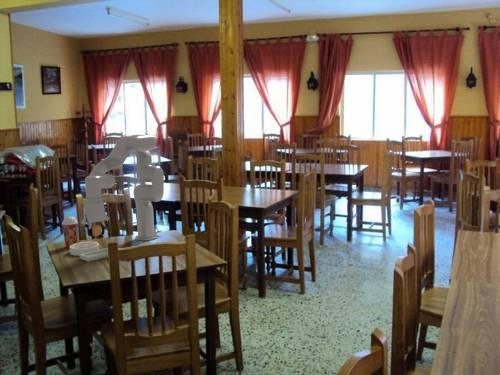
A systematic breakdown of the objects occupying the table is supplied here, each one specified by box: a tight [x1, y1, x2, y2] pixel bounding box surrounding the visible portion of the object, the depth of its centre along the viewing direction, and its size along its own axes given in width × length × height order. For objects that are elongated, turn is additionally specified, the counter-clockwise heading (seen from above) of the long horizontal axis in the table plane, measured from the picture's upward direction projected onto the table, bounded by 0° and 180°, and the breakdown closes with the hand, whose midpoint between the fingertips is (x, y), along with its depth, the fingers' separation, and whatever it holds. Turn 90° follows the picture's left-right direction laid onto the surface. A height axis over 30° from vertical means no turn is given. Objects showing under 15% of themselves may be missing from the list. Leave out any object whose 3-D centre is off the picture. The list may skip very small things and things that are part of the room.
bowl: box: [69, 241, 100, 257], centre depth 281 cm, size 15×15×4 cm
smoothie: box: [61, 210, 79, 249], centre depth 290 cm, size 8×8×20 cm
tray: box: [79, 247, 109, 263], centre depth 270 cm, size 16×9×2 cm, turn 134°
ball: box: [91, 223, 102, 237], centre depth 268 cm, size 6×6×6 cm
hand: (96, 234), depth 269 cm, fingers closed on ball, 5 cm apart
